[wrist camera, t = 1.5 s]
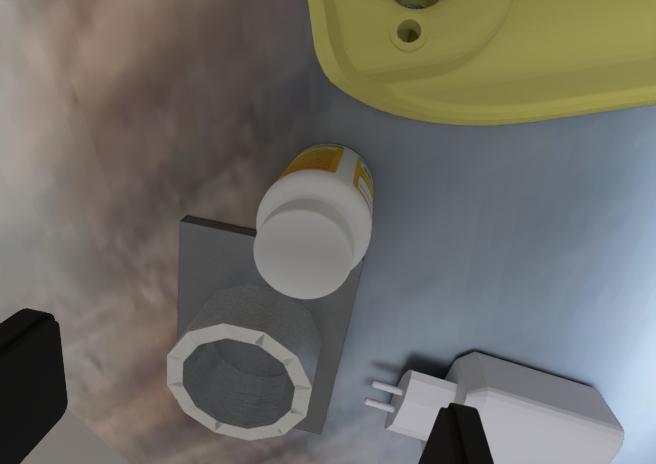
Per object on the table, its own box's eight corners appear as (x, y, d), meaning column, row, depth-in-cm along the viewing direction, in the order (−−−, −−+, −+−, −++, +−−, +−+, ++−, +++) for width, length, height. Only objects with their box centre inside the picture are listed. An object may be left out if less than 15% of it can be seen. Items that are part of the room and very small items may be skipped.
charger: (389, 319, 28) (593, 381, 28) (351, 409, 32) (530, 463, 32) (391, 366, 24) (631, 440, 24) (347, 463, 28) (554, 527, 28)
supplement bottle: (271, 197, 25) (213, 272, 16) (314, 123, 23) (273, 164, 14) (343, 241, 26) (324, 336, 17) (391, 173, 24) (398, 241, 15)
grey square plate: (186, 215, 26) (141, 252, 21) (364, 253, 26) (360, 299, 21) (181, 391, 33) (146, 451, 28) (322, 424, 33) (312, 490, 28)
